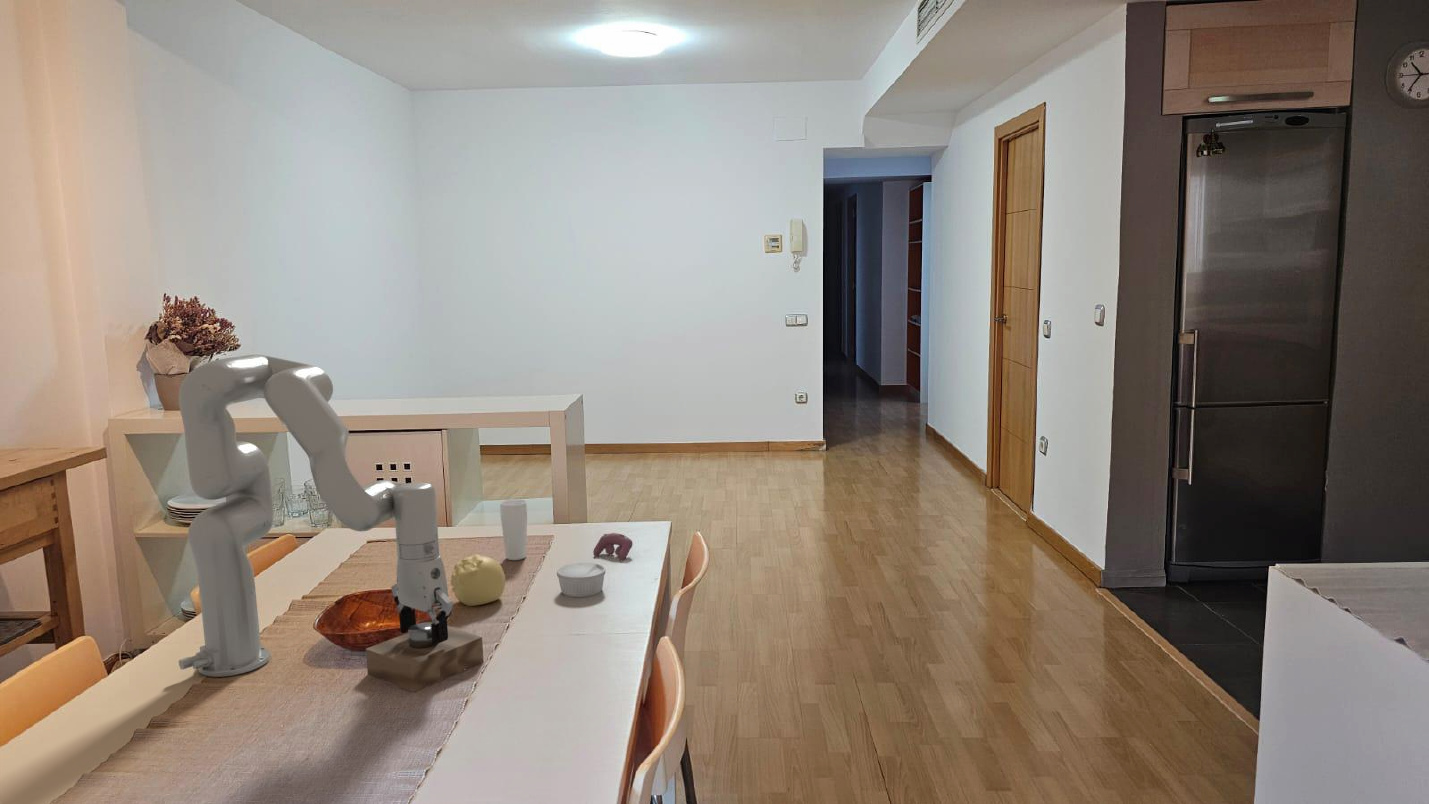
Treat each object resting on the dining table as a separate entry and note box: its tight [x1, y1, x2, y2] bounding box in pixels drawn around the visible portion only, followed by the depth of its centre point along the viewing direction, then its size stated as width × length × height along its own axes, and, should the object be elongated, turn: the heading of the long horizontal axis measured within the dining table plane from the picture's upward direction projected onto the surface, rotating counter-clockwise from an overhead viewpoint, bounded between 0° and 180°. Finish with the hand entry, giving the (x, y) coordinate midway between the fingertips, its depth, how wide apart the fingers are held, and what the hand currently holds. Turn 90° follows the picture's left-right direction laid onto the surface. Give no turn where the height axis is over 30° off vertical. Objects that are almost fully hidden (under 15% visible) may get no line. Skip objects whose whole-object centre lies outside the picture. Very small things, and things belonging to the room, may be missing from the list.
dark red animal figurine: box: [592, 532, 634, 561], centre depth 249 cm, size 10×5×7 cm, turn 59°
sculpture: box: [450, 553, 506, 607], centre depth 216 cm, size 11×12×11 cm
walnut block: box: [365, 625, 485, 693], centre depth 180 cm, size 16×14×5 cm
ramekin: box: [556, 562, 606, 598], centre depth 222 cm, size 11×11×5 cm
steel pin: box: [407, 621, 437, 649], centre depth 180 cm, size 6×6×8 cm
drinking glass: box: [499, 498, 528, 561], centre depth 248 cm, size 7×7×15 cm
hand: (424, 636), depth 180 cm, fingers open, 9 cm apart
